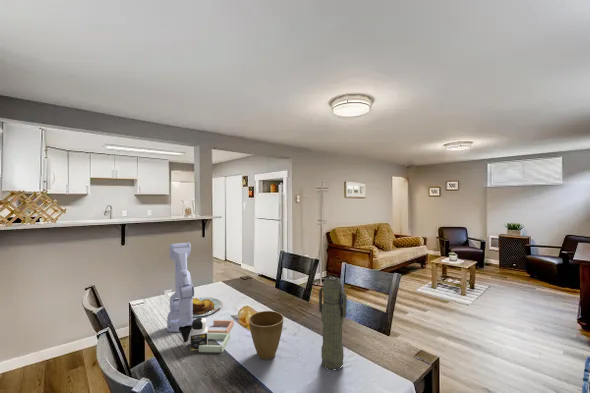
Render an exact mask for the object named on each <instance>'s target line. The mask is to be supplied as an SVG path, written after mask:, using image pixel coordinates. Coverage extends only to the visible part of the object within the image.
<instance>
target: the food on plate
mask: <svg viewBox="0 0 590 393" xmlns="http://www.w3.org/2000/svg"><path fill="white" fill-rule="evenodd" d="M222 307H223V301H222V300H220V299H219V298H216V297H209V296H206V297H193V318H194V317H202V316H203V317H204V316H208V315H210V314H213V313H214V312H217V310H220V309H221V308H222ZM209 311H211V312H210V313H208V312H209Z"/></svg>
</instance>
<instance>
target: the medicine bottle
mask: <svg viewBox="0 0 590 393" xmlns="http://www.w3.org/2000/svg"><path fill="white" fill-rule="evenodd" d="M194 319H195V320H193V322H192V329H191V331H190V351H197V350H198V351H199V345H208V340H209V339H208V330H209V329H208V328H209V327H208V325H207V319H206V318H205V317H197V318H194Z"/></svg>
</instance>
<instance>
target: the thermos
mask: <svg viewBox="0 0 590 393" xmlns="http://www.w3.org/2000/svg"><path fill="white" fill-rule="evenodd" d="M342 288H343V286H342V282H341V279H340V277H337V276H331V275H330V276H327V277H325V278H324V281H323V284H322V287H320V288H319V290H318V311H319V313H320V315H321V322H322V345H321V351H320V353H321V356H320V357H321V365H322V366H323V367H324V368H325V367H326V368H325V369H327V368H328V369H327V370H329V369H338V368H340V367H341V366H342V365H343V366H344V346H343V323H344V318H345V317H347V303H348V302H347V299H348V297H347V293H346V292H345V291H344V290H342ZM338 370H339V369H338Z"/></svg>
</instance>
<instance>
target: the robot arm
mask: <svg viewBox="0 0 590 393" xmlns="http://www.w3.org/2000/svg"><path fill="white" fill-rule="evenodd" d="M168 249H169V250H168V252H169V259H170V260H171V261H173V262H174V278H175V281H174V282H175V287H174V288H175V292H174V293H172V295H171V296H170V298H169V312H168V314H167V318H166V319H167V320H166V322H167V324H166V326H167V328H166V332H169V333H171V332H173V333H174V332H175V333H180V334H181V336H182V339H183V343H187V342H188V341H189V338H190V337H189V336H190V335H191V329H192V322H193V320H195V319H196V318H194V317H193V298H195V297H194V296H195V287H194V285H193V282H192V276H191V272H190V271H189V270H188V258H189V257H190V254H191V251H192V246H191V243H190V242H181V243H179V242H178V243H170V244H169V248H168Z"/></svg>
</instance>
